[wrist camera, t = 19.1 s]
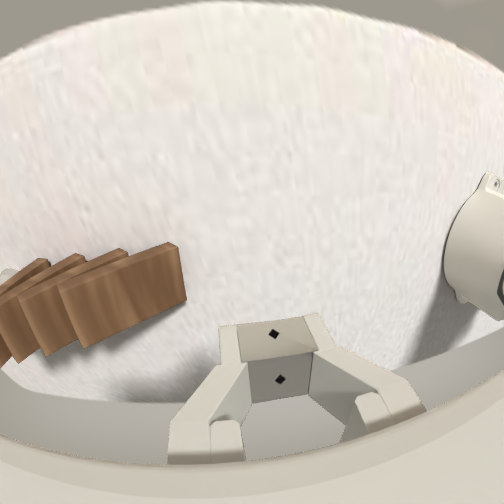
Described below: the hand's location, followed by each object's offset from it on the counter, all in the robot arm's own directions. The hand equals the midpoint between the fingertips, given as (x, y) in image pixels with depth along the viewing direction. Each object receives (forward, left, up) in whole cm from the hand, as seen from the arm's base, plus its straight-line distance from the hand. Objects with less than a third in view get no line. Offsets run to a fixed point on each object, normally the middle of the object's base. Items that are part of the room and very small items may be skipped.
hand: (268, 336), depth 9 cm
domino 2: (+9, +5, -16) cm, 19 cm away
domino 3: (+13, +5, -16) cm, 21 cm away
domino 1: (+5, +5, -16) cm, 17 cm away
